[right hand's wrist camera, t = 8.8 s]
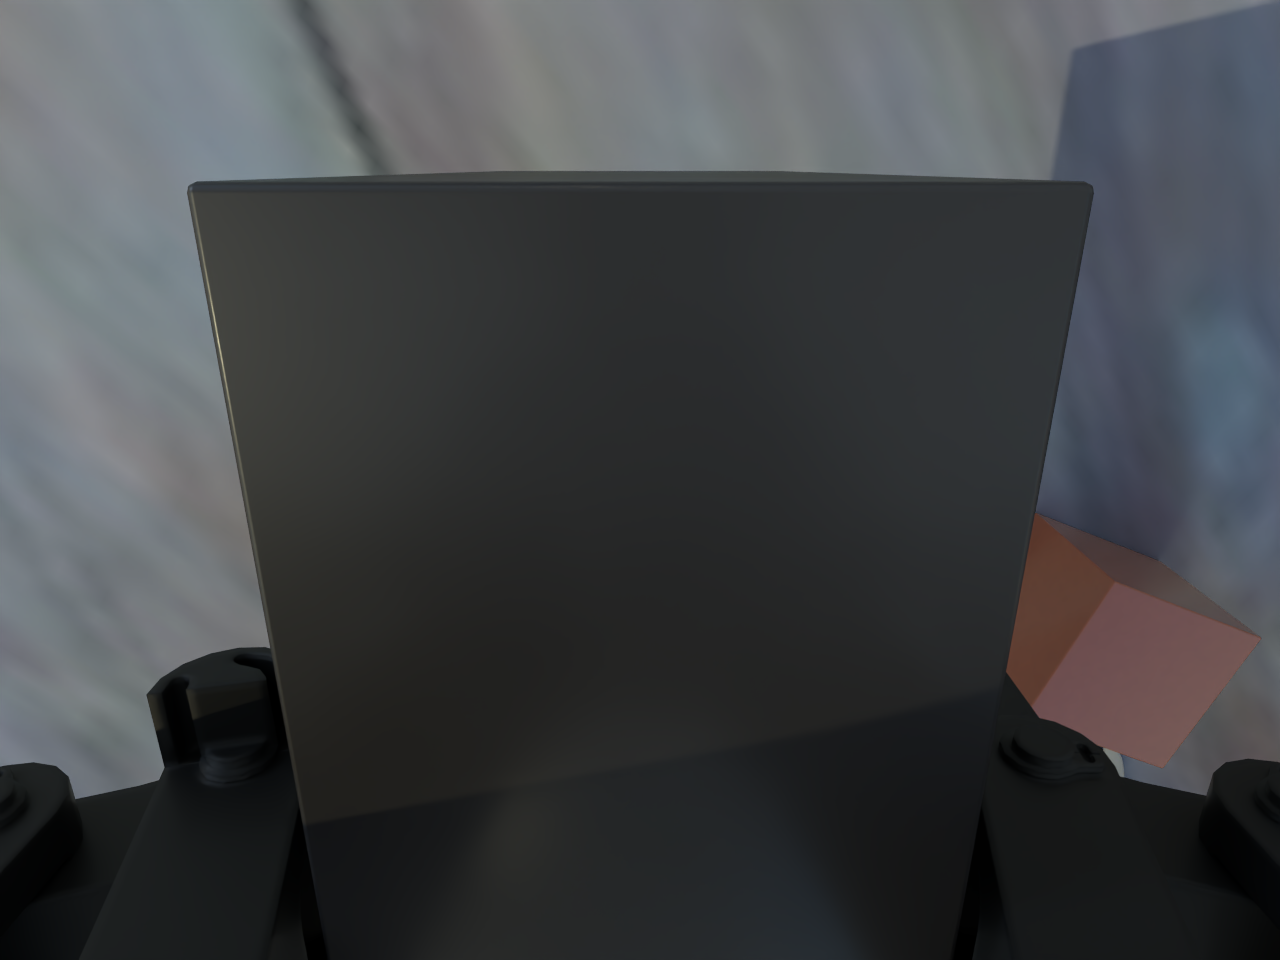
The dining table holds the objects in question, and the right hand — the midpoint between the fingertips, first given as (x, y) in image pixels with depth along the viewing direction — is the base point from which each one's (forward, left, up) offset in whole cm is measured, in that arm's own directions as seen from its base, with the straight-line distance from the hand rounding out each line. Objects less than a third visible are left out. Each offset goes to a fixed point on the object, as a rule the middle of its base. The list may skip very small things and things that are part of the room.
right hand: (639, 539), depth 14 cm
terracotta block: (-4, +16, -13) cm, 21 cm away
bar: (+8, +7, -1) cm, 11 cm away
